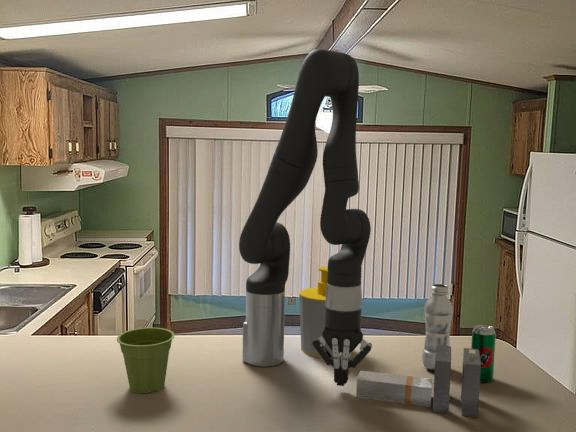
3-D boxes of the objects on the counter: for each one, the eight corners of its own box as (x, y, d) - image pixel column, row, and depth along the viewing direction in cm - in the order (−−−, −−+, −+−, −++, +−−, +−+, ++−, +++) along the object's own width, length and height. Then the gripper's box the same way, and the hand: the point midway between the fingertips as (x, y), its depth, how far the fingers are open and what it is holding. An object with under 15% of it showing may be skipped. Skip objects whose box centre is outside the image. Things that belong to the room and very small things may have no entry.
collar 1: (432, 411, 119) (435, 360, 118) (434, 392, 128) (436, 345, 127) (448, 413, 118) (451, 362, 117) (448, 394, 127) (451, 346, 126)
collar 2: (461, 415, 117) (464, 358, 116) (461, 396, 126) (464, 343, 125) (477, 417, 117) (481, 360, 115) (476, 398, 126) (479, 344, 124)
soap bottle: (314, 361, 145) (316, 275, 142) (289, 345, 156) (290, 265, 154) (359, 353, 151) (362, 270, 148) (332, 338, 162) (334, 261, 160)
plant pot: (123, 377, 133) (122, 327, 132) (177, 376, 135) (177, 327, 133) (112, 399, 122) (111, 345, 120) (172, 398, 123) (171, 344, 121)
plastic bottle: (451, 375, 138) (456, 290, 135) (421, 372, 139) (425, 288, 137) (450, 365, 144) (454, 283, 142) (421, 363, 145) (424, 281, 143)
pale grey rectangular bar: (356, 397, 125) (356, 379, 125) (359, 388, 130) (360, 370, 129) (430, 407, 121) (431, 388, 121) (431, 397, 126) (432, 378, 125)
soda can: (497, 380, 135) (501, 328, 134) (482, 385, 133) (485, 332, 131) (480, 373, 140) (483, 322, 138) (464, 377, 137) (467, 325, 136)
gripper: (308, 306, 124) (306, 387, 126) (372, 312, 120) (369, 395, 122) (316, 297, 131) (314, 374, 133) (377, 303, 127) (374, 381, 130)
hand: (341, 384), depth 128 cm, fingers closed
